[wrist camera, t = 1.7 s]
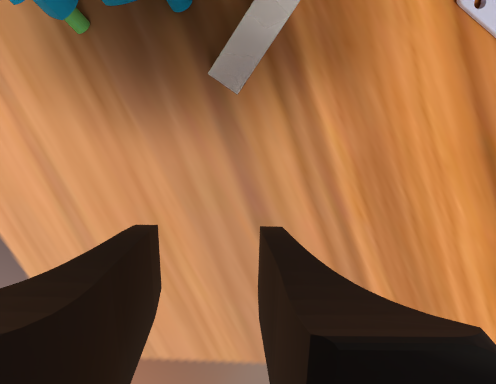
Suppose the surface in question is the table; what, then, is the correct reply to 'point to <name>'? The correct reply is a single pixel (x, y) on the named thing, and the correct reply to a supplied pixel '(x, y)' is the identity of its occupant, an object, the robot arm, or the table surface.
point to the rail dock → (251, 41)
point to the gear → (64, 8)
